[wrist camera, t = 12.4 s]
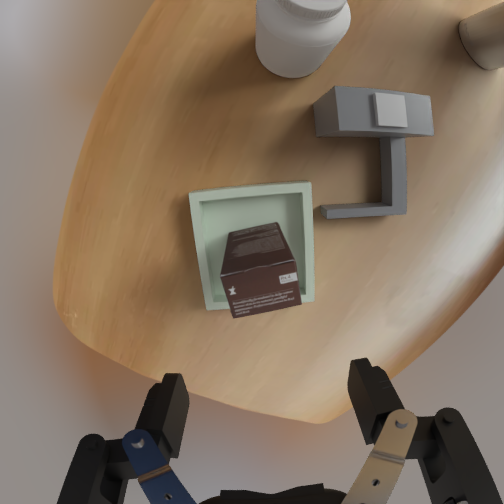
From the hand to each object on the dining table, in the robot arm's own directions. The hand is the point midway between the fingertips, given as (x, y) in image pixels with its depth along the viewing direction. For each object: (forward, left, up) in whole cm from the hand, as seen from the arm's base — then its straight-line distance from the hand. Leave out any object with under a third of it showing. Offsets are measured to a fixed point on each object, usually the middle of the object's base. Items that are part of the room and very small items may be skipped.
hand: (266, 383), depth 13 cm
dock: (-13, -9, -23) cm, 28 cm away
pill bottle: (-6, -23, -23) cm, 33 cm away
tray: (0, 0, -23) cm, 23 cm away
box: (0, 0, -23) cm, 23 cm away
